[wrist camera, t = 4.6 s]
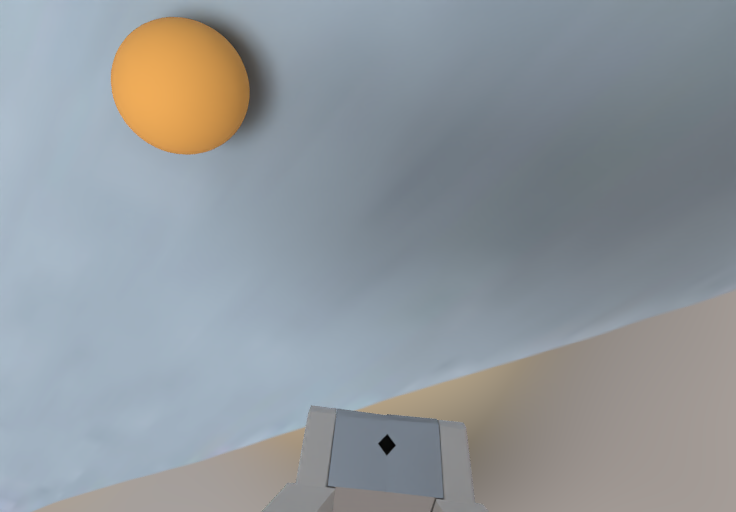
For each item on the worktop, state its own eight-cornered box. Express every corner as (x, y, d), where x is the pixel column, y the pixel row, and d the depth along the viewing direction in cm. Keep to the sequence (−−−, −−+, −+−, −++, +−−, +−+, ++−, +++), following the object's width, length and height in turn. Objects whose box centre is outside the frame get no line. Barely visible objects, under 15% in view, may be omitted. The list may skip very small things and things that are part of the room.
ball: (261, 13, 25) (226, 44, 20) (263, 132, 29) (233, 183, 24) (135, -2, 25) (70, 25, 20) (152, 119, 29) (100, 168, 24)
